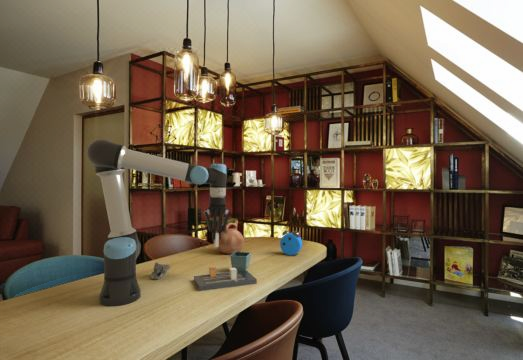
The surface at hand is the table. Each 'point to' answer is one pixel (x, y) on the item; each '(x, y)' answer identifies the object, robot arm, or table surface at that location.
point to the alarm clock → (291, 243)
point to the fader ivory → (233, 273)
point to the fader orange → (212, 271)
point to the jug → (231, 240)
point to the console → (223, 280)
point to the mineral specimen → (159, 270)
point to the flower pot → (240, 260)
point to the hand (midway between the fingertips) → (216, 246)
